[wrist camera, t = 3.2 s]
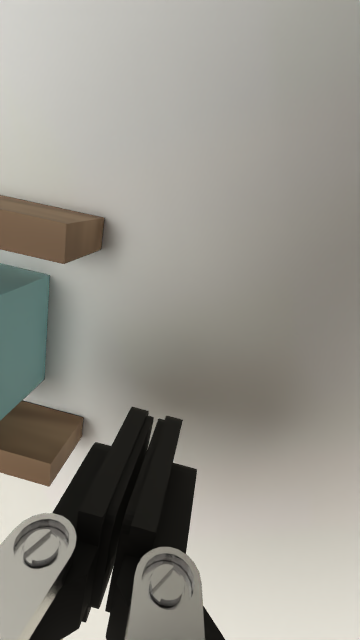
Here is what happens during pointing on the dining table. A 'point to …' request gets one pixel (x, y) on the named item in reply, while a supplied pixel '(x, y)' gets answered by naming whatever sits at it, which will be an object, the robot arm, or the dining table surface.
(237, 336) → the dining table surface
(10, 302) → the teal block
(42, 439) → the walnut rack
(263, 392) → the dining table surface
